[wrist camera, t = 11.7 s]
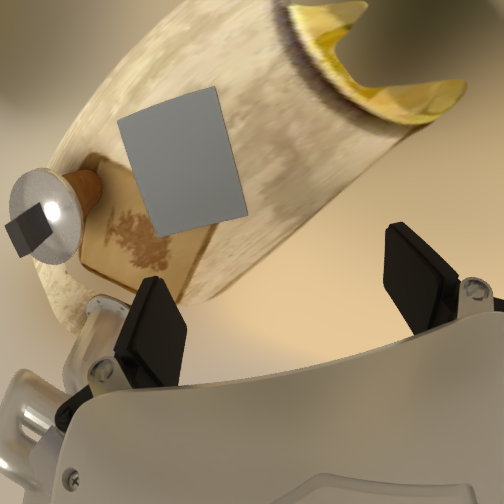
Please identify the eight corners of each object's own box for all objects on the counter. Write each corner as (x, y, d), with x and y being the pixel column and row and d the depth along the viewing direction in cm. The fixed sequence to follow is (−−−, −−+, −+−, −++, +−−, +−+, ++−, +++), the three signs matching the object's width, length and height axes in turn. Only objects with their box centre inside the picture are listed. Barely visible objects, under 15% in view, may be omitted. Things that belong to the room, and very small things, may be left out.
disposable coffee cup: (58, 194, 37) (17, 222, 27) (79, 148, 34) (34, 167, 24) (96, 223, 41) (61, 260, 30) (120, 180, 38) (83, 208, 27)
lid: (99, 246, 30) (76, 276, 24) (40, 266, 31) (17, 292, 25) (61, 151, 23) (26, 164, 18) (5, 189, 24) (-24, 207, 19)
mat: (247, 214, 42) (248, 215, 41) (158, 236, 43) (158, 237, 42) (214, 86, 32) (214, 86, 31) (118, 120, 33) (117, 120, 32)
